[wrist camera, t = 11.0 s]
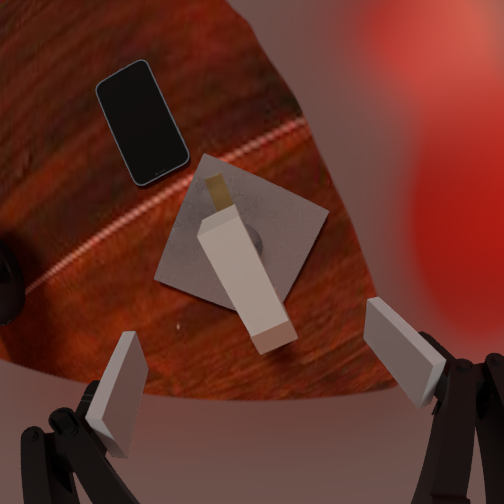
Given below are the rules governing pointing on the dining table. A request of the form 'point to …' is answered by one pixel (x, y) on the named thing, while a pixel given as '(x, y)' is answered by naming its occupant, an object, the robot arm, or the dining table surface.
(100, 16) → the dining table surface
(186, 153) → the smartphone
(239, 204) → the socket
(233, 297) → the grey rectangular block
